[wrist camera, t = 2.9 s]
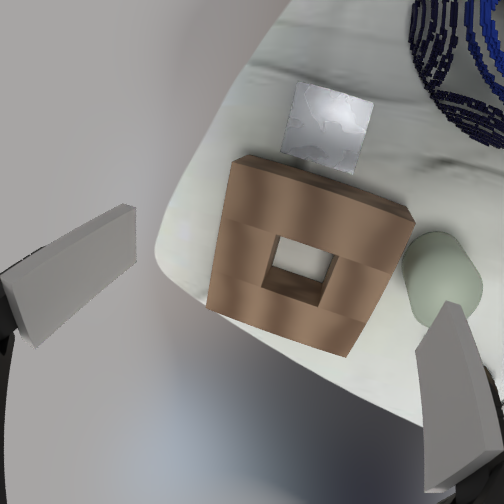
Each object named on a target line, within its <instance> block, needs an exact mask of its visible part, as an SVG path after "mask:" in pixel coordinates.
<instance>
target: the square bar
mask: <svg viewBox="0 0 504 504" xmlns="http://www.w3.org/2000/svg"><path fill="white" fill-rule="evenodd" d="M373 106H374V103H372V102H369V101H366V100H363V99H360V98H357V97H354V96H351V95H348V94H344V93H341V92H338V91H334V90H331V89H328V88H324V87H320V86H317V85H313V84H309V83H305V82H301V81H298V82H297V86H296V90H295V94H294V98H293V102H292V106H291V110H290V114H289V118H288V122H287V126H286V130H285V134H284V138H283V142H282V146H281V150H280V152H282V153H285V154H289V155H292V156H295V157H299V158H302V159H305V160H309V161H312V162H315V163H318V164H321V165H324V166H328V167H331V168H334V169H337V170H340V171H343V172H345V173H348V174H351V175H353V173H354V170H355V167H356V164H357V161H358V157H359V154H360V151H361V147H362V144H363V141H364V137H365V134H366V131H367V127H368V124H369V120H370V117H371V113H372V109H373Z"/></svg>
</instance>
